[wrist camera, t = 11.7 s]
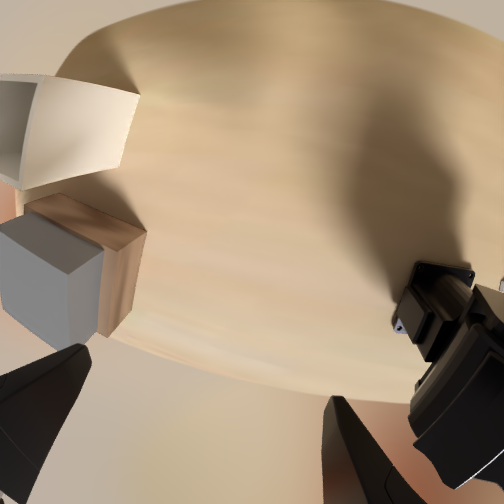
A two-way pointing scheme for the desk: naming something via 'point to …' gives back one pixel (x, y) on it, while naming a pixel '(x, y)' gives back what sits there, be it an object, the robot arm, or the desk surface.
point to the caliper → (502, 286)
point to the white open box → (60, 128)
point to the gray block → (50, 280)
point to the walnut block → (115, 252)
